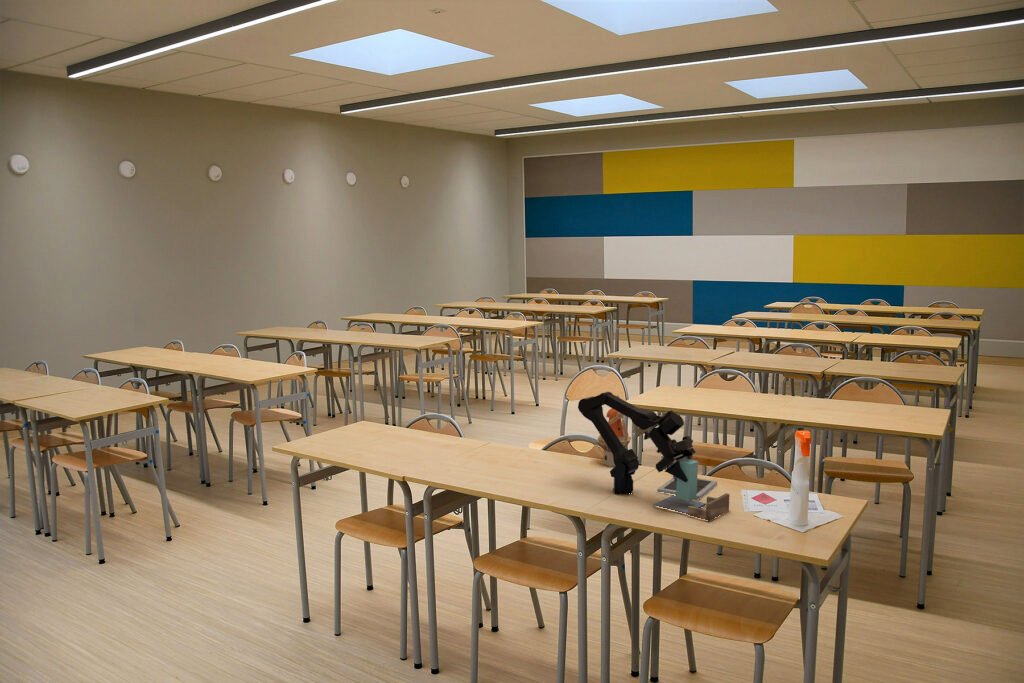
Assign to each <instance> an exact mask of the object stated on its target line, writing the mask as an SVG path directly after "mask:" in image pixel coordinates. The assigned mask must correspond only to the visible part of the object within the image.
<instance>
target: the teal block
mask: <svg viewBox="0 0 1024 683" xmlns="http://www.w3.org/2000/svg"><path fill="white" fill-rule="evenodd" d="M680 468H681V469H682V471H683V473H684V474H685V476H686V478H687V479H688V481H687V482H684V481H682V480H680V479H679V478H677V487H676V498H678V499H682V500H686V501H691V500H694V499H695V498H696V493H697V478H698V476H699V474H698V473H699V472H698V471H699V461H698V460H694V459H692V458H691V459H686V458H685V459H682V460H680Z"/></svg>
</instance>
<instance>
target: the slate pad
mask: <svg viewBox="0 0 1024 683" xmlns="http://www.w3.org/2000/svg"><path fill="white" fill-rule="evenodd" d="M706 504H707V502H703V501H699V500H694V499H693V500H691V501H686V500H682V499H678V498H676V496H674V495H669V496H667V497H666V498H664V499H661V500H659V501H658V502H656V503H653V506H654V505H655V506H659V507H663V508H667V509H671V510H675V511H678V512H682V513H686V514H688V506H693V507H697V508H701V507H703V506H705V505H706ZM705 507H706V506H705ZM703 508H704V507H703ZM701 509H702V508H701Z"/></svg>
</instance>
